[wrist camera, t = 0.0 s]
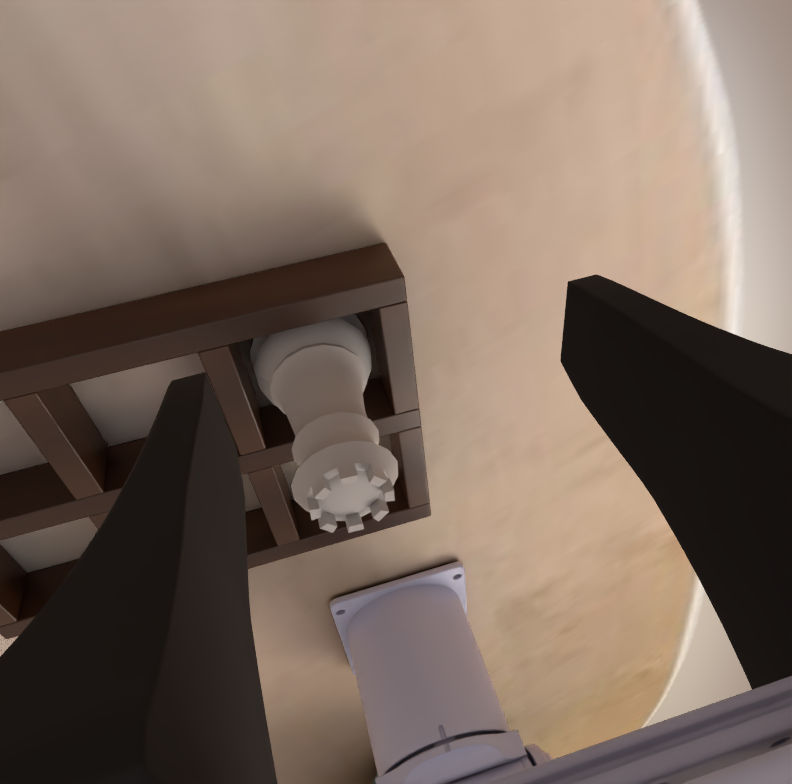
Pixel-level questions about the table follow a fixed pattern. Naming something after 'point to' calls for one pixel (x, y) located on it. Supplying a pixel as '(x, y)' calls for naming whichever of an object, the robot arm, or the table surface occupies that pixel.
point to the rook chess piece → (328, 419)
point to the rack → (248, 423)
